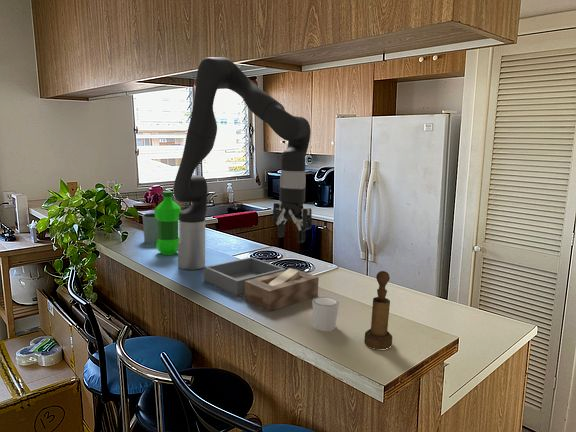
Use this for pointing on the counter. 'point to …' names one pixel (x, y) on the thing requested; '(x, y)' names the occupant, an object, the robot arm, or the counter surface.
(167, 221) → the plastic bottle
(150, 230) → the drinking glass
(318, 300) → the white cup
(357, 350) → the counter surface
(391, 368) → the counter surface
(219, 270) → the charcoal tray
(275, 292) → the walnut pocket board
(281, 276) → the maple bar
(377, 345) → the brown wooden tall figure
